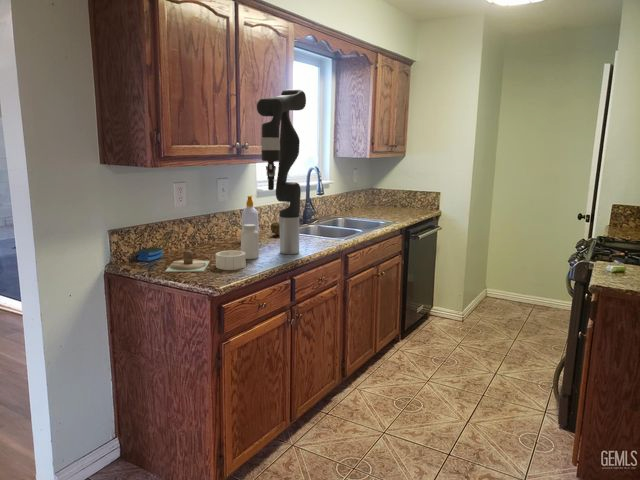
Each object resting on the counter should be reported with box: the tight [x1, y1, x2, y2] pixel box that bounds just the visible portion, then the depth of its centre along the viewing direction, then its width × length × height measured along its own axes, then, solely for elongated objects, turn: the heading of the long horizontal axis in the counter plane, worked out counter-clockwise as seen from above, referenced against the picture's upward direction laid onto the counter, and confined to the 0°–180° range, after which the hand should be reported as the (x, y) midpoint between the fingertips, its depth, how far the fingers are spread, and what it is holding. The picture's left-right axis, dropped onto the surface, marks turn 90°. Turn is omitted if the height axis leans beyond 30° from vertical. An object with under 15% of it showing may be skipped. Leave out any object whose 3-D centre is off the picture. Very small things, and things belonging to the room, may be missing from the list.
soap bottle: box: [241, 194, 259, 233], centre depth 257 cm, size 9×9×24 cm
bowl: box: [215, 250, 247, 271], centre depth 203 cm, size 12×12×6 cm
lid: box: [170, 250, 206, 270], centre depth 201 cm, size 14×14×6 cm
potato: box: [270, 222, 280, 237], centre depth 274 cm, size 8×13×8 cm, turn 147°
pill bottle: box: [240, 224, 260, 260], centre depth 218 cm, size 8×8×15 cm
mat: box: [164, 260, 210, 273], centre depth 202 cm, size 17×15×1 cm
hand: (271, 189), depth 200 cm, fingers open, 8 cm apart
